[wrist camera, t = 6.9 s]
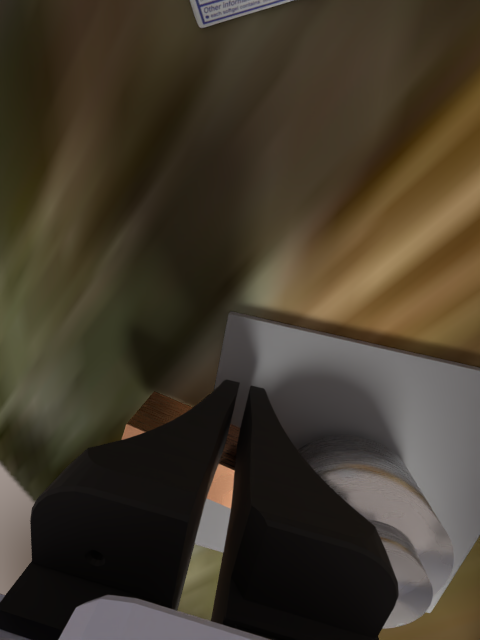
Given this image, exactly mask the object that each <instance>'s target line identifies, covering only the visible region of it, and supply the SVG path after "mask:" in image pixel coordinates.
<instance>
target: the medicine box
mask: <svg viewBox="0 0 480 640" xmlns="http://www.w3.org/2000/svg"><path fill="white" fill-rule="evenodd" d="M291 1H294V0H190V3H191V6H192V9H193V13H194V16H195V19H196V21H197V24H198V26H199V27H200V28H205V27H208V26H211V25H214V24H218V23H221V22H224V21H227V20H231V19H234V18H237V17H240V16H244V15H247V14H250V13H254V12H257V11H260V10H264V9H267V8H271V7H274V6H277V5H281V4H284V3H287V2H291Z"/></svg>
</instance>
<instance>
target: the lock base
mask: <svg viewBox="0 0 480 640" xmlns="http://www.w3.org/2000/svg"><path fill="white" fill-rule="evenodd" d="M226 379H227V380H231V381H235V382H239V383H240V384H239V389H238V393H237V397H236V402H235V406H234V411H233V415H232V419H231V424H232V425H235V426H237V427H239V428H240V427H241V423H242V419H243V414H244V410H245V406H246V402H247V398H248V394H249V390H250V386H251V385H252V386H256V387H260V388H264V389H265V390H266V392H267V395H268V398H269V400H270V403H271V405H272V407H273V410H274V412H275V414H276V416H277V418H278V420H279V422H280V424H281V425H282V427H283V429H284V431H285V432H286V434H287V436H288V437H289V439H290V440H291V442H292V443H293V445H294V446H295V447H296V449H297V450H298V449H299V448H301V447H303V446H304V445H306V444H308V443H310V442H312V441H314V440H317V439H320V438H324V437H329V436H338V435H350V436H358V437H363V438H367V439H370V440H373V441H376V442H378V443H380V444H382V445H384V446H386V447H387V448H389V449H390V450H392V451H393V452H394V453H395V454H396V455H397V456H398V457H399V458H400V459H401V460H402V461H403V462H404V464H405V465H406V467H407V468H408V470H409V472H410V473H411V475H412V477H413V478H414V480H415V482H416V483H417V485H418V486H419V488H420V490H421V491H422V493H423V495H424V496H425V498H426V499H427V501H428V503H429V504H430V506H431V508H432V509H433V511H434V512H435V514H436V516H437V517H438V519H439V521H440V522H441V524H442V526H443V527H444V529H445V530H446V532H447V534H448V535H449V538H450V540H451V542H452V546H453V551H454V563H453V569H452V571H451V574H450V576H449V578H448V580H447V581H446V583H445V584H444V586H443V587H442V588H441V589H440V590H439V591H438V592H437V593H436V594H435V595H433V598H432V602H431V605H430V606H429V608H428V610H427V611H426V612H428V613H431V611H432V610H433V608H434V606H435V605H436V603H437V602H438V600H439V599H440V597H441V595H442V594H443V592H444V591H445V589H446V588H447V586H448V584H449V583H450V581H451V580H452V578H453V577H454V575H455V573H456V572H457V570H458V569H459V567H460V566H461V564H462V562H463V561H464V559H465V558H466V556H467V555H468V553H469V551H470V550H471V548H472V547H473V545H474V544H475V542H476V540H477V539H478V537H479V536H480V368H479V367H474V366H470V365H466V364H461V363H457V362H452V361H448V360H444V359H439V358H435V357H430V356H426V355H422V354H417V353H413V352H408V351H404V350H399V349H395V348H391V347H386V346H382V345H377V344H373V343H369V342H364V341H360V340H355V339H351V338H347V337H342V336H338V335H333V334H329V333H324V332H320V331H316V330H311V329H307V328H302V327H298V326H294V325H289V324H285V323H280V322H276V321H272V320H267V319H263V318H258V317H254V316H249V315H245V314H241V313H236V312H232V311H230V313H229V315H228V320H227V325H226V330H225V335H224V340H223V346H222V351H221V356H220V361H219V366H218V372H217V377H216V382H215V387H214V390H215V389H216V388H217V387H218V386H219V385H220V384H221V383H222V382H223V381H224V380H226ZM230 512H231V509H230V508H228V507H226V506H223V505H221V504H219V503H216V502H214V501H212V500H209V499H206V502H205V505H204V509H203V513H202V517H201V520H200V524H199V528H198V532H197V536H196V540H195V544H196V545H200V546H203V547H206V548H210V549H213V550H217V551H220V552H224V546H225V540H226V535H227V529H228V523H229V517H230Z"/></svg>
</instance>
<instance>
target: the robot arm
mask: <svg viewBox="0 0 480 640" xmlns="http://www.w3.org/2000/svg"><path fill="white" fill-rule="evenodd" d="M239 384H240V383H239V382H235V381H231V380H227V379H226V380H224V381H223V382H222V383H221V384H220V385H219V386H218V387H217V388H216V389H215V390H214V391H213V392H212V393H211V394H210V395H208V396H207V397H206V398H205V399H204V400H202V401H201V402H200V403H198V404H197V405H196V406H194V407H193V408H192V409H190V410H189V411H187V412H186V413H184V414H182V415H181V416H179V417H177V418H175V419H174V420H172V421H170V422H168V423H166V424H164V425H161V426H159V427H157V428H155V429H152V430H150V431H147V432H145V433H142V434H139V435H136V436H133V437H130V438H127V439H123V440H120V441H116V442H112V443H108V444H104V445H100V446H96V447H91V448H88V449H87V450H85V451H84V452H83V453H82V454H81V455H80V456H79V457H78V458H76V459H75V460H74V461H73V462H72V463H71V464H70V465H69V466H68V467H67V468H66V469H65V470H64V471H63V472H62V473H61V474H60V475H59V476H58V477H57V478H56V479H55V480H54V482H53V483H52V484H51V485H50V486H49V487H48V488H47V489H46V490H45V491H44V492H43V493H42V494H41V495H40V496H39V497H38V499H37V500H36V502H35V504H34V506H33V507H32V513H31V545H32V562H31V563H30V564H29V565H28V567H27V568H26V569H25V571H24V572H23V573H22V575H21V576H20V577H19V579H18V580H17V581H16V582H15V584H14V585H13V586H12V588H11V589H10V590H9V591H8V593H7V594H6V595H2V594H0V640H379V638H378V635H379V633H380V631H381V629H382V628H383V626H384V624H385V623H386V621H387V619H388V618H389V616H390V614H391V612H392V611H393V609H394V607H395V604H396V602H397V599H398V596H399V591H398V581H397V579H396V576H395V573H394V571H393V568H392V565H391V563H390V560H389V557H388V555H387V552H386V549H385V547H384V545H383V543H382V540H381V538H380V536H379V534H378V532H377V529H376V527H375V526H374V525H373V524H372V523H371V522H369V521H368V520H367V519H366V518H365V517H363V516H362V515H361V514H360V513H359V512H357V511H356V510H355V509H354V508H353V507H351V506H350V505H349V504H348V503H347V502H346V501H344V500H343V499H342V498H341V497H340V496H339V495H338V494H337V493H336V492H335V491H334V490H333V489H332V488H331V487H330V486H329V485H328V484H327V483H326V482H325V481H324V480H323V479H322V478H321V477H320V476H319V475H318V474H317V473H316V472H315V471H314V469H313V468H312V467H311V466H310V465H309V464H308V463H307V462H306V460H305V459H304V458H303V457H302V455H301V454H300V453H299V451H298V450H297V449H296V447H295V446H294V445H293V443H292V442H291V440H290V439H289V437H288V436H287V434H286V432H285V431H284V429H283V427H282V425H281V424H280V422H279V420H278V418H277V416H276V414H275V412H274V410H273V407H272V405H271V403H270V400H269V398H268V395H267V392H266V390H265V389H264V388H260V387H256V386H252V385H251V386H250V390H249V394H248V398H247V402H246V406H245V410H244V414H243V419H242V423H241V427H240V432H239V437H238V442H237V449H236V460H235V471H234V483H233V494H232V504H231V512H230V517H229V523H228V529H227V535H226V540H225V546H224V552H223V557H222V563H221V568H220V574H219V579H218V585H217V590H216V596H215V601H214V607H213V612H212V618H211V621H209V620H205V619H202V618H199V617H196V616H193V615H189V614H186V613H183V612H180V611H177V610H178V606H179V602H180V598H181V594H182V590H183V586H184V582H185V578H186V575H187V571H188V567H189V563H190V559H191V555H192V551H193V547H194V544H195V540H196V536H197V532H198V528H199V524H200V520H201V517H202V513H203V509H204V505H205V502H206V499H207V495H208V492H209V489H210V487H211V484H212V481H213V478H214V475H215V472H216V470H217V467H218V464H219V461H220V458H221V456H222V453H223V450H224V447H225V444H226V440H227V436H228V432H229V428H230V424H231V419H232V415H233V411H234V406H235V402H236V397H237V393H238V389H239Z"/></svg>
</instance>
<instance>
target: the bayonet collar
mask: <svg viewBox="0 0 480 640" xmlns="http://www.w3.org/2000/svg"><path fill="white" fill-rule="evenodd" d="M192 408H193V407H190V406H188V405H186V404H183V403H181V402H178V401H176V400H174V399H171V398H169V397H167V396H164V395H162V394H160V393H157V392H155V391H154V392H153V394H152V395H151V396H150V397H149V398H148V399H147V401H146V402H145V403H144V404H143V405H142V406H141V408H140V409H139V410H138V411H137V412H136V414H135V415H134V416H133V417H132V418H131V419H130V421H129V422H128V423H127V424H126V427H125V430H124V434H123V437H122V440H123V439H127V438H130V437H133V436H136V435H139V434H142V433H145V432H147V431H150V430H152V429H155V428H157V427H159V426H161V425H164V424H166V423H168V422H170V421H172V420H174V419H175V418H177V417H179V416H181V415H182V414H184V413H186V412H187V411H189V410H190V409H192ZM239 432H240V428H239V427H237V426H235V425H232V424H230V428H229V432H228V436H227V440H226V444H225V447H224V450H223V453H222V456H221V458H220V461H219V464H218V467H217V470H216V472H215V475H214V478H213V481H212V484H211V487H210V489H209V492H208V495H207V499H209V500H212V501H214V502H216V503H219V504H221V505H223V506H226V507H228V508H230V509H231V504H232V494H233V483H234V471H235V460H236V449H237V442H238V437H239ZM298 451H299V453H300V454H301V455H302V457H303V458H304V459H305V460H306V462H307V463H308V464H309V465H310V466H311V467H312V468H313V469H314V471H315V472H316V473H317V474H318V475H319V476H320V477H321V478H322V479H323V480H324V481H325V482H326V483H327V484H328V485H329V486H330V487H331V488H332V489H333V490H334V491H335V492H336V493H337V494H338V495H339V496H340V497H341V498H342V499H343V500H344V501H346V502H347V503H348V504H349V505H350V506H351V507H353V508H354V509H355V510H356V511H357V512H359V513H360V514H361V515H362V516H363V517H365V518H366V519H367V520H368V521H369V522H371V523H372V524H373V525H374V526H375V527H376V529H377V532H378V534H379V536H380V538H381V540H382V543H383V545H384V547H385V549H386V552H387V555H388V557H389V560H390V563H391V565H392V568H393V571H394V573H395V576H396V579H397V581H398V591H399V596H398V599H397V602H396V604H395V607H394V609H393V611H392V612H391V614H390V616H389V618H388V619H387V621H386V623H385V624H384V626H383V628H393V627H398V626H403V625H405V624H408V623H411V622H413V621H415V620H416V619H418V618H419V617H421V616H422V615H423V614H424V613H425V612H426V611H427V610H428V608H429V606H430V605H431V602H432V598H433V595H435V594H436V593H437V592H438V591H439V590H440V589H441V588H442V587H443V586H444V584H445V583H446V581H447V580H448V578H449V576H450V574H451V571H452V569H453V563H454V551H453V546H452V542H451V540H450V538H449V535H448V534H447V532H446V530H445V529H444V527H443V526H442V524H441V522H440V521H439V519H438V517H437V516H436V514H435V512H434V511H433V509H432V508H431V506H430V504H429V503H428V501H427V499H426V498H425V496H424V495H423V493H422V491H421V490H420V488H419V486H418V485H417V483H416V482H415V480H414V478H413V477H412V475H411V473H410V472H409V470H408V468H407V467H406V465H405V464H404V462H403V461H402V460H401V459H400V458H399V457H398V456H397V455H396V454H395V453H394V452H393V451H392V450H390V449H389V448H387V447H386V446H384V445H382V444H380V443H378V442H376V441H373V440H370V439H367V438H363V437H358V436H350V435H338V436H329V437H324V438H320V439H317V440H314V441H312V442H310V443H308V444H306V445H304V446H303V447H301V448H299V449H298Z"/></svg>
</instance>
